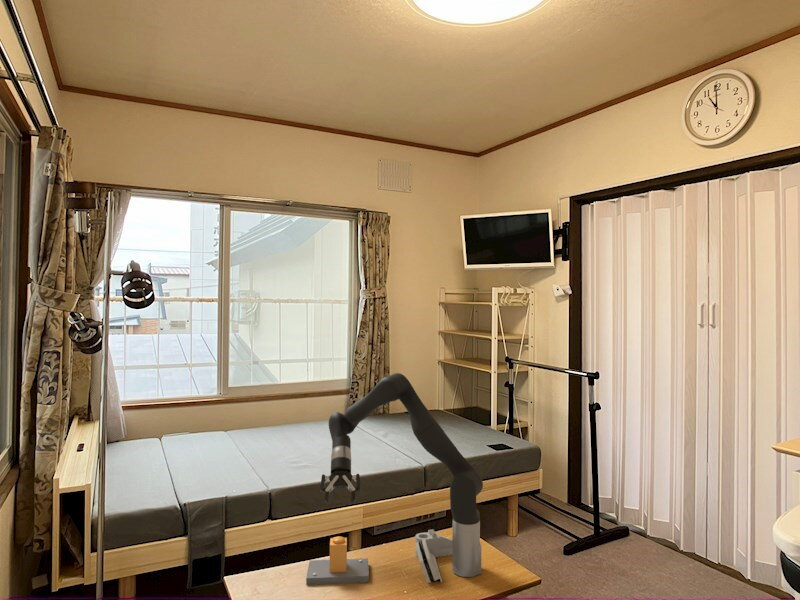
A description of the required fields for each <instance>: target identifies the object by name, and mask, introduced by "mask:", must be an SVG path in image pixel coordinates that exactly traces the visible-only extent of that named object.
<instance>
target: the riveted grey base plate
mask: <svg viewBox="0 0 800 600" xmlns="http://www.w3.org/2000/svg"><path fill="white" fill-rule="evenodd" d="M369 574H370V573H369V558H347V570H346V572H330V559H316V560H315V559H314V560H309V562H308V566H307V572H306V576H305V577H306V578H305V580H306V581H305V585H324V584H325V585H327V584H328V585H330V584H333V585H334V584H352V583H353V584H355V583H356V584H357V583H358V584H359V583H369V582H370V581H369V580H370V577H369V576H370V575H369Z"/></svg>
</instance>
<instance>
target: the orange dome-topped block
mask: <svg viewBox="0 0 800 600" xmlns="http://www.w3.org/2000/svg"><path fill="white" fill-rule="evenodd" d="M347 559H348V537H344V536H339V535H338V536H334V537H330V540H329V560H330V572H346V570H347Z"/></svg>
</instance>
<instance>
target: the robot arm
mask: <svg viewBox="0 0 800 600" xmlns="http://www.w3.org/2000/svg"><path fill="white" fill-rule="evenodd" d="M397 400H399V401H400V402H401V404H402V405H403V406H404V408H405V409H406V411H407V414H408V415H409V416H408V417H409V420H410V425H411V426H410V427H411V429H412V432H413V435H414V436H415V438H416V439H417V441H418V442H419V444H420V445H421V446H422V448H423V449H424V450H425V451H426V452H427V453H428V454H430V455H431V456H432V457H434V458H435V459H437V460H438V461H440V462H441V463H442V464H443V465H444V466H445V467H446V468H447V469H448V471H449V472H450V473H451V474H452V476H453V478H452V479H451V481H450V484H449V485H450V486H449V500H450V501H449V503H450V512H451V514H452V539H453V545H452V555H451V556H452V557H451V559H452V563H451V564H452V568H451V569H452V572H453V573H454V574H456V575H457V576H459V577H464V578H473V577H476V576H478V575H482V544H481V529H480V528H481V513H480V510H478V509H477V496H478V495H479V494H480V493H481V492H482V491H483V487H484V482H483V478H482V476H481V475H480V474H479V472H478V470H476V468H474V466H473V465H472V464H471V463H470V462H469V461H468V460H467V459H466V458H465V457H464V456H463V454H462V453H461V452H460V451H459V450H458V448H457V447H456V445H455V444H454V443H453V441H452V440H451V439H450V437H449V436H448V434H447V433H446V431H444V429H443V428H442V426H441V425H440V423H439V422H438V421H437V420H436V419H435V418H434V416H433V415H432V414H431V412H430V411H429V409H428V408H427V407H426V405H425V404H424V403H423V401H422V400H421V399H420V397H419V395H418V393H417V392H416V391H415V389H414V387H413V385H412V383H411V382H410V381H409V379H408V378H407V377H406V376H405V375H403V374H402V373H400V372H396V373H393V374H391V375H390V374H389V375H387V376H384V377H383V378H381V380H380V381H379V382H378V383H377V384H376V385H375V386H374V387H373V388H372V389H371V390H370V391H369V392H368V393H367V394H366V395H365V396H363V397H362V398H360V399H359V400H357V401H356V402H355V403H353V404H352V405H351V406H349V407H347V409H346V410H345V413H343V412H342V413H341V412H339V411H336V412H333V413H332V414H331V415H330V417H329V419H328V429H329V433H330V437H331V441H332V445H331V446H332V447H331V455H330V474H329V475H325V474H322V475H321V481H320V490H319V491H320V493H321V494H324V503H325V504H326V505H330V493H331V492H332V491H333V490H334V489H335V488H336V489H345V488H347V489H348V491H350V493H351V494H350V495H351V497H350V499H351V500H350V501H351V502H350V503H351V505H352V504H354V503H355V502H356V493H361V480H360V479H361V478H360V477H361V475H360V474H359V473H356V475H355V474H352V452H351V451H352V450H351V449H352V447H351V445H352V442H351V437H350V436H349V435H350V434H352V433H353V432H354V431H355V430H356V428H357V426H358V425H359V423H361V422H362V421H363V420H366V418H368V417H369V416H370V415H372V413H374V411H375V410H376V409H377V408H379V407H381V406H384V405H386V404H388V403H391V402H396V401H397ZM328 480H329V482H330V483H329V484H328V486H327V487H326V488H325V486H326V485H325V484H326V483H327V482H328ZM352 480H354V482H356V487H354V485H353V484H352Z"/></svg>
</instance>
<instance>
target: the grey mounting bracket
mask: <svg viewBox="0 0 800 600" xmlns="http://www.w3.org/2000/svg"><path fill="white" fill-rule="evenodd" d="M414 536H415V537H414V538H415V539H414V540H415V543H417V542H420V543H421V541H422V540H426V543H427V546H428V548H429V551H430V553H432V554H434V556H435V558H440V557H445V556H446V557H447V555H448V556H452V545H453V538H450V537H447V536H443V535H440V534H438V533H437V532H436V531H435V529H433V528H432V529H428V531H427V532H419V533H416V534H415V535H414ZM415 543H414V547H415V548H414V549H415V551H414V552H415V556H416V557H417V559H419V557H418V553H417V550H416V545H415ZM421 546H422V544H421ZM422 549H423V548H422ZM439 556H440V557H439Z"/></svg>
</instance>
